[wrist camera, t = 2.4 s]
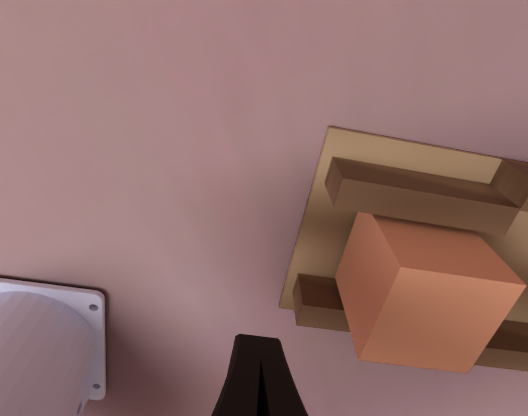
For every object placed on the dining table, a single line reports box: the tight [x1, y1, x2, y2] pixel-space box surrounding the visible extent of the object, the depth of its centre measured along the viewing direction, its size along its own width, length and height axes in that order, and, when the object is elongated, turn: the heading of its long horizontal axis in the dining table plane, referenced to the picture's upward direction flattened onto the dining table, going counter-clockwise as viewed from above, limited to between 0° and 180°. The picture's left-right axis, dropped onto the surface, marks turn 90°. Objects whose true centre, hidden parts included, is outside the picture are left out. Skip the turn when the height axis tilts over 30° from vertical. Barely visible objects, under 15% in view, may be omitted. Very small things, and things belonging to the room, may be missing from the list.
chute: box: [279, 126, 528, 371], centre depth 20 cm, size 11×19×3 cm, turn 79°
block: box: [335, 212, 527, 373], centre depth 17 cm, size 5×5×6 cm
